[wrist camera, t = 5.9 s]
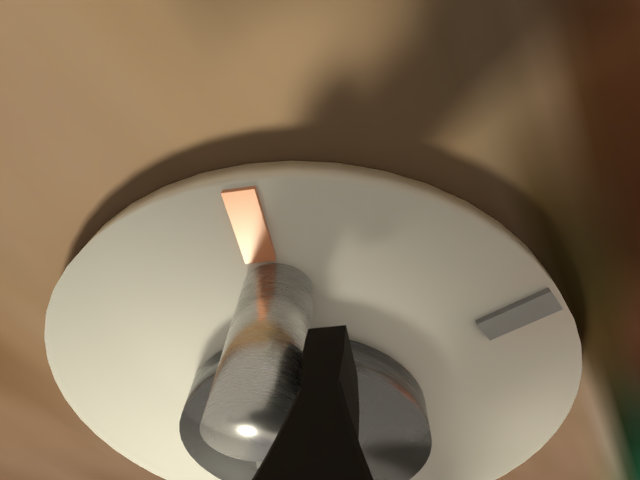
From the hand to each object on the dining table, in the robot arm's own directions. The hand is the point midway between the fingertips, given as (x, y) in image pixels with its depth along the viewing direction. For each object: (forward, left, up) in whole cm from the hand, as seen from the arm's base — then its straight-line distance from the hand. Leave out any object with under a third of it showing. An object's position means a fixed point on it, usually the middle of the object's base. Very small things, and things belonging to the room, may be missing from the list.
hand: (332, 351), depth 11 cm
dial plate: (-5, +6, -4) cm, 9 cm away
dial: (-4, +5, -3) cm, 6 cm away
